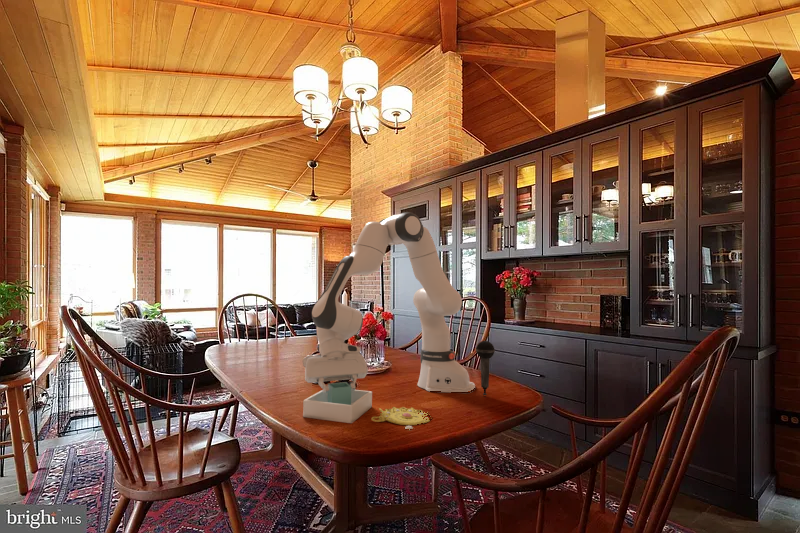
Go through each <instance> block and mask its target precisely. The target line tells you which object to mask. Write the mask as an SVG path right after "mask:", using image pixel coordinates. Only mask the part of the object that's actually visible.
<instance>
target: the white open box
mask: <svg viewBox="0 0 800 533" xmlns="http://www.w3.org/2000/svg"><path fill="white" fill-rule="evenodd" d="M302 404H303V405H302V407H303V409H302V410H303V412H302V418H308V419H315V420H316V419H317V420H322V421H331V422H337V423H347V424H353V423H354V422H355V421H356V420H358V419H359V418H360V417H361V416H362V415H364V414H365V413H367V412H368V410H370V409H371V408H373V391H370V390H364V389H363V390H362V389H361V390H359V389H355V390H353V391H351V405H347V404H339V403H330V402H328V393H323V389H322V390H320V391H317V392H315V393H314V394H312V395H311V396H309V397H307V398H305V399H303V403H302Z"/></svg>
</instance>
